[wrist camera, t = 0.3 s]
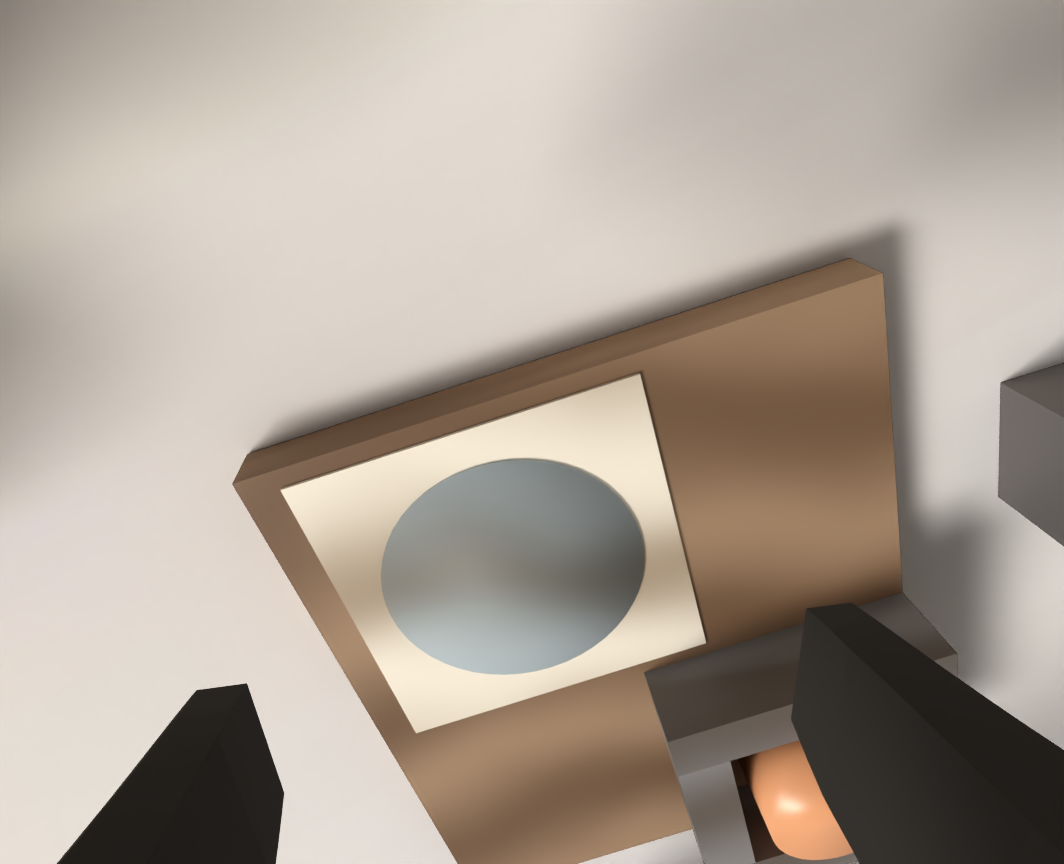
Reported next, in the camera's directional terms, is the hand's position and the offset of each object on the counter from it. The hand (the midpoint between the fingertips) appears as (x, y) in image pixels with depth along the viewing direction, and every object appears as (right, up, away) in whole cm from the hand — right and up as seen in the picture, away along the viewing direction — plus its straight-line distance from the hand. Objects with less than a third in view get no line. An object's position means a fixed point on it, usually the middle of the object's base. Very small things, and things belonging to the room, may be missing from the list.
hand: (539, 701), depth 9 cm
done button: (+8, -6, +13) cm, 17 cm away
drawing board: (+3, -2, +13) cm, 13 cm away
